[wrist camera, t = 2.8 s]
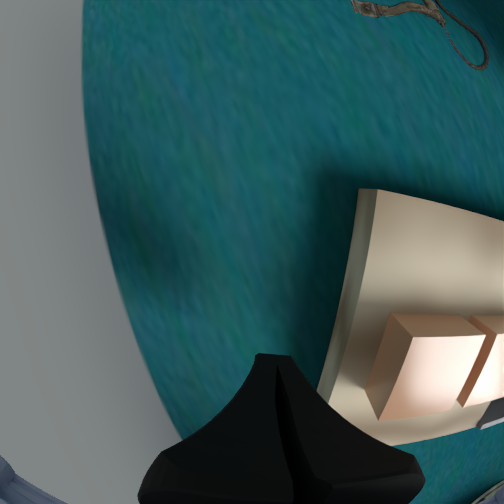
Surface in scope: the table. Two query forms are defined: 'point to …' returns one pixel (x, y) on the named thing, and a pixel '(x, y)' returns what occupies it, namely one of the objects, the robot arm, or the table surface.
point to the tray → (492, 414)
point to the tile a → (421, 364)
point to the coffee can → (489, 493)
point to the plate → (408, 298)
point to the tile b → (486, 363)
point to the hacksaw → (427, 9)
